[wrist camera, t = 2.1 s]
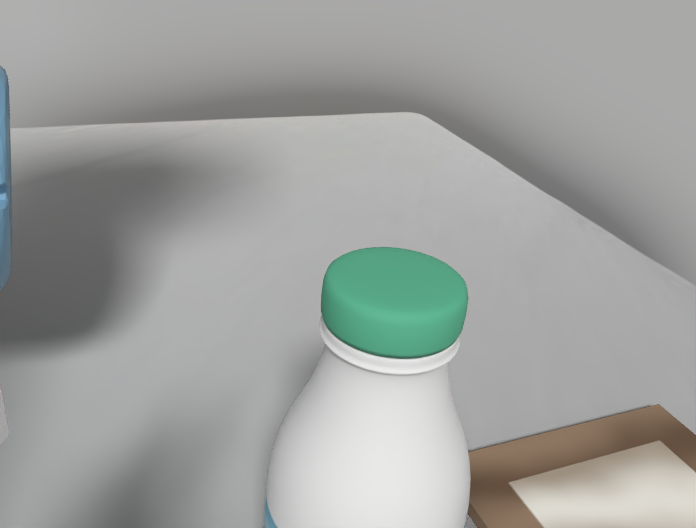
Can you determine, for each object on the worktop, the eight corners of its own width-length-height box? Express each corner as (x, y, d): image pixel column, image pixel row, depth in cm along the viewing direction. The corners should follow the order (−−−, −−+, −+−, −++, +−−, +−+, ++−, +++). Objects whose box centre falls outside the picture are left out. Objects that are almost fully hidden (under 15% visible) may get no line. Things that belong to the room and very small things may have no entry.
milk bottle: (235, 614, 32) (241, 234, 22) (380, 564, 35) (438, 213, 25) (291, 789, 26) (332, 370, 16) (460, 710, 29) (576, 320, 19)
